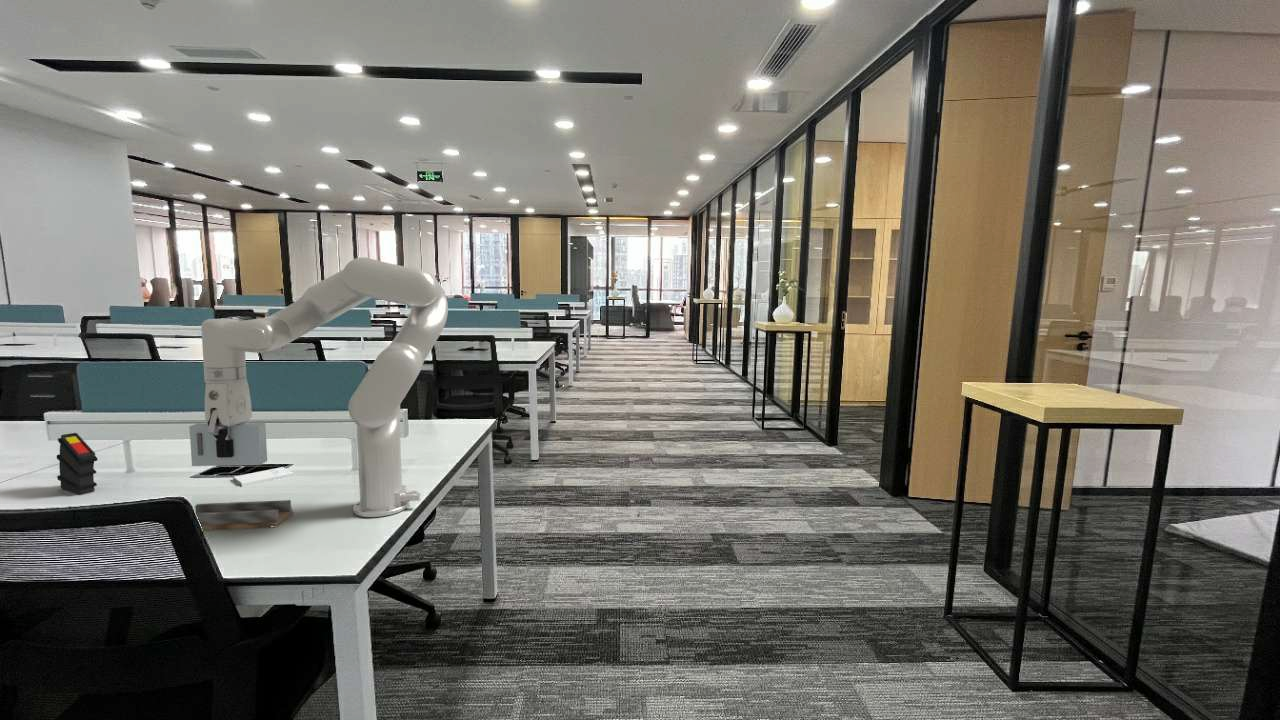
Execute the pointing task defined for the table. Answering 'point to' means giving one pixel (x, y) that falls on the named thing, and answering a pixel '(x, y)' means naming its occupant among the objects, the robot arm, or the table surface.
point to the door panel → (245, 444)
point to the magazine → (76, 464)
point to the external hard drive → (262, 476)
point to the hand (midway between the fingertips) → (230, 454)
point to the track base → (242, 514)
